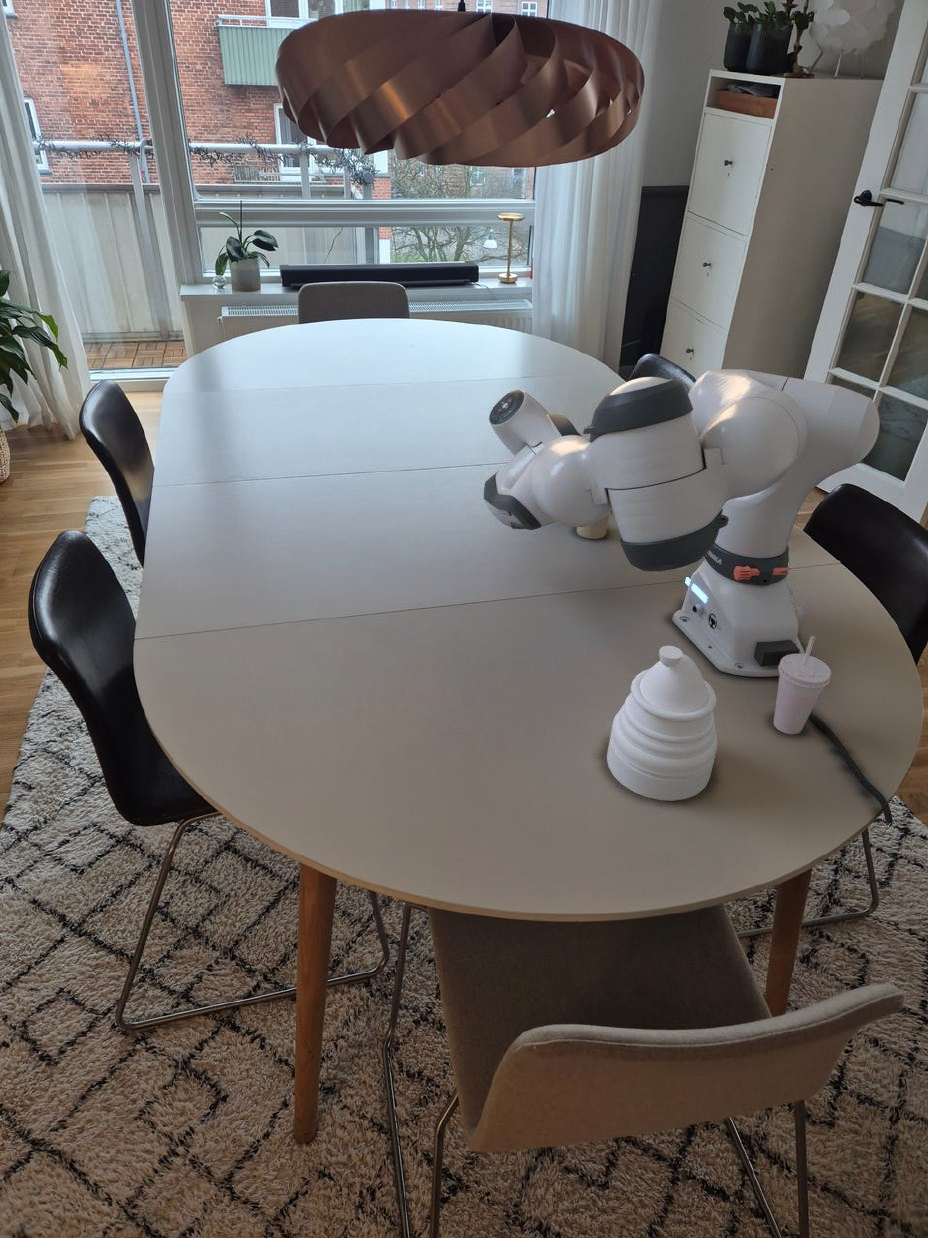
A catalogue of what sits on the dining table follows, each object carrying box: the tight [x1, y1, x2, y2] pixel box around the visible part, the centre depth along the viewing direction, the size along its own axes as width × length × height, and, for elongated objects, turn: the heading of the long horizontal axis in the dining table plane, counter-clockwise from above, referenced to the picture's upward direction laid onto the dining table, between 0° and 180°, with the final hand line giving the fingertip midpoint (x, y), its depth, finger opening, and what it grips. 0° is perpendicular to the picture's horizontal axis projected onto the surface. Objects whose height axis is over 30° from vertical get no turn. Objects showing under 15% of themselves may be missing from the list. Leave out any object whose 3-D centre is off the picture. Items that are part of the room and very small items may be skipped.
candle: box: [576, 513, 610, 540], centre depth 160 cm, size 6×6×10 cm
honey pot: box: [606, 645, 718, 802], centre depth 104 cm, size 13×13×18 cm
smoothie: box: [773, 635, 832, 735], centre depth 113 cm, size 6×6×14 cm
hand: (591, 499), depth 158 cm, fingers open, 8 cm apart
